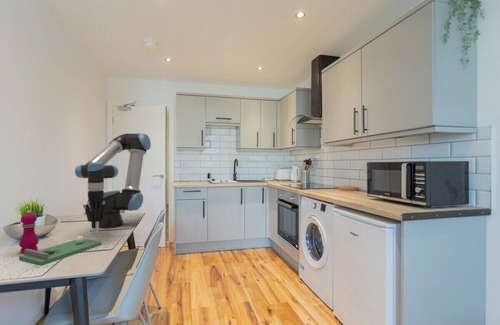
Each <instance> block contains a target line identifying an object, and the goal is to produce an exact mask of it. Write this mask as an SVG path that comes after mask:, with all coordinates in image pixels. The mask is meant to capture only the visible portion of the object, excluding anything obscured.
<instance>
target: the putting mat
mask: <svg viewBox="0 0 500 325" xmlns="http://www.w3.org/2000/svg"><path fill="white" fill-rule="evenodd" d="M98 245H100V246H102V241H98V240H91V239H87V238H84V242H83V243H80V244H78V243H76V242H75V239H72V240H71V241H67V242H64V243H60V244H57V245H56V244H55V245H52V246H50V247H46V248H42V249H39V250H37V251H35V250H31V249H25V254H22V255H18V260H19V261H21V262H27V263H29V262H30V263H29V264H33V263H34V264H35V265H37V264H38V265H37V266H43V265H48V264H50V263H52V262H55V261H58V260H61V259H64V258H68V257H71V256H73V255H76V254H79V253H81V252H85V251H88V250H91V249H94V248H96V247H95V246H97V247H99V246H98ZM93 247H94V248H93ZM90 248H91V249H90ZM87 249H88V250H87Z"/></svg>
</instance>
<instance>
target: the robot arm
mask: <svg viewBox="0 0 500 325" xmlns="http://www.w3.org/2000/svg"><path fill="white" fill-rule="evenodd" d="M151 146H152V145H151V138H150V137H149V135H148V134H146V133H141V132H140V133H123V134H120V135H118V136H116V137H114V138H112V140H110V141H109V143H108V145H107V146H106V147H104V148H103V149H102V150H100V152H99V153H98V154H96V155H95V156H94V157H93V158H91V159H89V161H88V162H87V163H85V164H78V165H77V166H76V167H75V170H74V174H75V176H76V177H77V178H80V179H81V178H82V179H87V190H88V191H87V198H88V199H87V202H86V203H85V204H83V205H82V207H83V209H84V211H85V214H86V219H87V222H90V223H91V229H92V234H93V235H99V234H100V230H99V229H112V228H118V227H121V226H123V225H124V220H123V218H122V214H121V211H130V212H131V211H138V210H140V208H141V207H142V205H143V202H144V196H143V193H141V189H140V181H141V176H142V170H143V169H142V168H143V162H144V156H145V155H147V151H149V150H150V149H151ZM127 150H128V152H129V154H130V155H129V158H128V159H129V160H128V167H127V170H126V171H127V173H126V179H125V185H124V187H123V188H122V189H121V190H120V189H119V190H118V189H117V190H110V191H104V190H105V179H113V178H116V177H118V174H119V169H118V167H117V166H116V165H113V164H109V165H107V164H108V162H109V161H111V159H113V158H114V157H115V156H116V155H117V154H120V153H121V152H123V151H127Z"/></svg>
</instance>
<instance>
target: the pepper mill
mask: <svg viewBox="0 0 500 325" xmlns="http://www.w3.org/2000/svg"><path fill="white" fill-rule="evenodd" d="M37 220H38V216H37V215H36V214H35V213H32V211H31V210H30V209H29V210H27V211H26V214H22V215H21V216H20V223H22V224H21V228H23V231H22V235H21V236H20V240H19V242H18V246H19V247H20V253H21V254H22V255H25V249H31V250H35V251H38V244H39V242H40V240H39V237H38V236H37V233H36V231H35V227H36V221H37Z"/></svg>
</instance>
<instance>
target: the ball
mask: <svg viewBox="0 0 500 325" xmlns="http://www.w3.org/2000/svg"><path fill="white" fill-rule="evenodd" d="M84 239H85V237H84V235H78V236H75V239H74V240H75V242H76V243H78V244H80V243H83V242H84Z"/></svg>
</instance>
